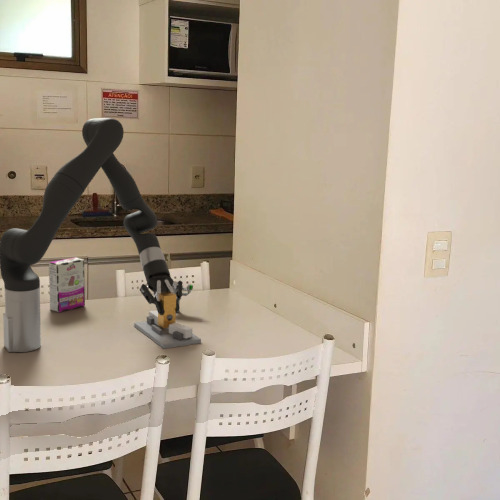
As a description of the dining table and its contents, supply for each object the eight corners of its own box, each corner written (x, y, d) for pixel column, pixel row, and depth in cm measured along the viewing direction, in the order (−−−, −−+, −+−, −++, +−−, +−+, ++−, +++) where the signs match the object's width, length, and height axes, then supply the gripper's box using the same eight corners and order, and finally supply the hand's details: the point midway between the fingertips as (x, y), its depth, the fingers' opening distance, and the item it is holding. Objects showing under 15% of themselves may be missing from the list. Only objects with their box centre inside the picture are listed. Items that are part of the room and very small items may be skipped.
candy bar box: (75, 303, 233) (75, 256, 229) (85, 306, 230) (85, 259, 226) (48, 309, 224) (48, 261, 220) (58, 313, 221) (57, 264, 218)
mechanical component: (190, 314, 226) (191, 285, 224) (161, 311, 228) (161, 282, 226) (192, 312, 229) (193, 283, 227) (163, 309, 231) (164, 280, 229)
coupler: (163, 328, 202) (164, 296, 200) (157, 324, 206) (158, 292, 204) (175, 327, 204) (176, 295, 202) (169, 322, 208) (170, 291, 206)
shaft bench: (163, 348, 193) (164, 333, 192) (134, 326, 211) (134, 312, 210) (200, 342, 199) (201, 328, 198) (169, 321, 217) (169, 308, 216)
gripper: (136, 260, 203) (151, 309, 196) (179, 256, 211) (195, 304, 203) (129, 273, 209) (144, 322, 201) (171, 269, 216) (187, 316, 209)
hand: (169, 312), depth 202 cm, fingers closed on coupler, 4 cm apart
